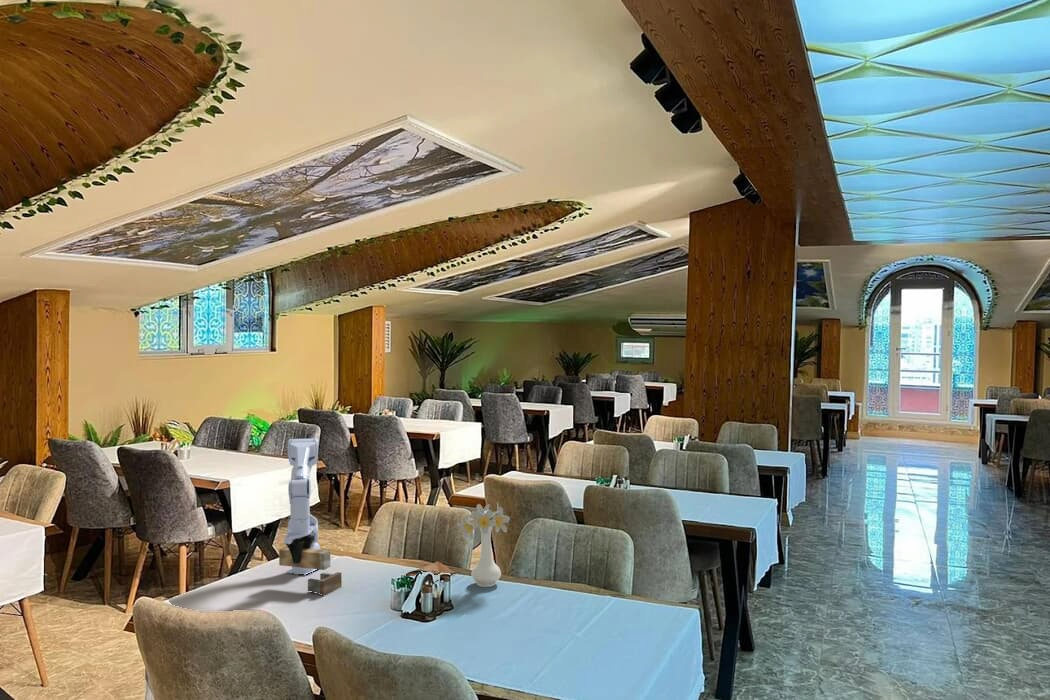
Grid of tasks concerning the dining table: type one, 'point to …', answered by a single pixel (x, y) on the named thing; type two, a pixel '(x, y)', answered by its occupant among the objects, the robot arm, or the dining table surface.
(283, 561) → the bed rail
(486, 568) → the flower vase
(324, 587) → the wooden channel piece
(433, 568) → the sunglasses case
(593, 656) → the dining table surface
